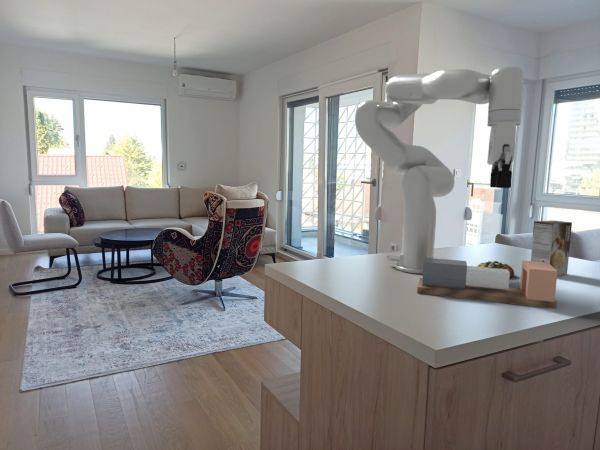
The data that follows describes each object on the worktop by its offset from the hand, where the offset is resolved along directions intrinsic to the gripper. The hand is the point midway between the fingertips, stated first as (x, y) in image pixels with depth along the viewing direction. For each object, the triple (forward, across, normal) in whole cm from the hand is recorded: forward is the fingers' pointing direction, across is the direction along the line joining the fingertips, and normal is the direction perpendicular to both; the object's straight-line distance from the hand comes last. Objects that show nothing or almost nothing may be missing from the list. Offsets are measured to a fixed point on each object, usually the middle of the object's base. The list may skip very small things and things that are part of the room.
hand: (499, 187), depth 108 cm
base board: (+26, +8, -4) cm, 28 cm away
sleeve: (+24, +8, -13) cm, 29 cm away
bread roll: (+26, -17, +2) cm, 32 cm away
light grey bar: (+24, +8, -8) cm, 26 cm away
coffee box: (+26, -24, +19) cm, 41 cm away
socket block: (+25, +9, +8) cm, 28 cm away
